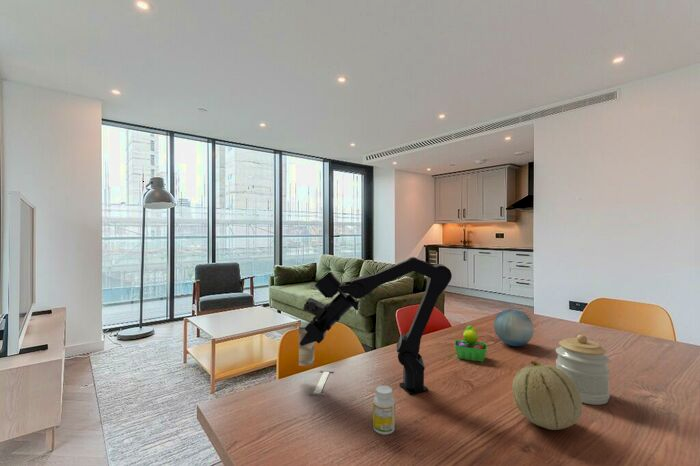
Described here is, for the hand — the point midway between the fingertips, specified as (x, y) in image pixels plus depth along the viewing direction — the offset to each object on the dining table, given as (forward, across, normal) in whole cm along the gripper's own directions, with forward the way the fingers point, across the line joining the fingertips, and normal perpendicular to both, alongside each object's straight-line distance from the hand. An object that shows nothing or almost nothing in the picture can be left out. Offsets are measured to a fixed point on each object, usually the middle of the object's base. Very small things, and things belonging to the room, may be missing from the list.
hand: (302, 342), depth 102 cm
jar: (-50, -3, +68) cm, 85 cm away
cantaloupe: (-38, +14, +56) cm, 69 cm away
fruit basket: (-32, -27, +50) cm, 66 cm away
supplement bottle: (-10, +21, +28) cm, 36 cm away
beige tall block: (+4, 0, +6) cm, 7 cm away
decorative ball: (-47, -43, +65) cm, 91 cm away
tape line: (+4, 0, +13) cm, 14 cm away
